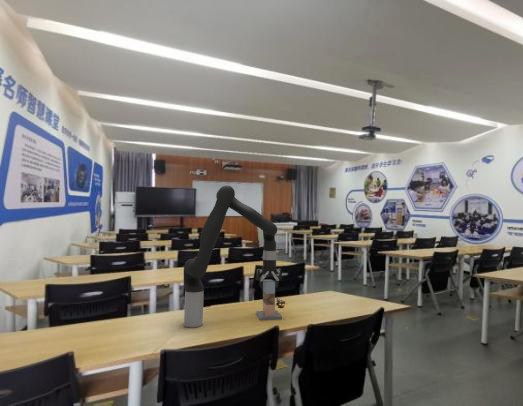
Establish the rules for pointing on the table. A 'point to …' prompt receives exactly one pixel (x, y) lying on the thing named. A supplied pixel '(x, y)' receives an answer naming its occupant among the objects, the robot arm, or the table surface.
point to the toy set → (280, 303)
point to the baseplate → (262, 317)
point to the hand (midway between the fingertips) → (269, 287)
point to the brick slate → (269, 286)
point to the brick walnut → (268, 298)
